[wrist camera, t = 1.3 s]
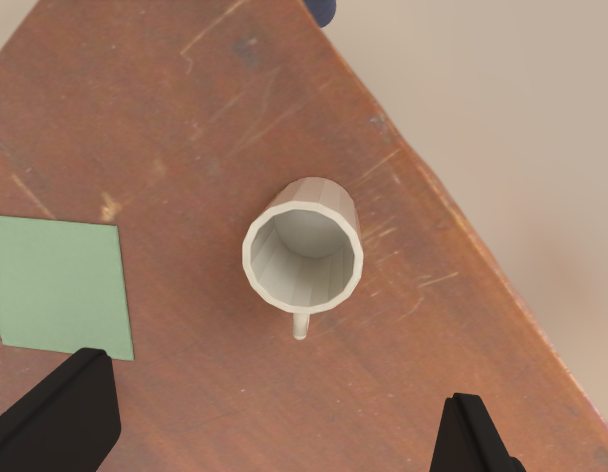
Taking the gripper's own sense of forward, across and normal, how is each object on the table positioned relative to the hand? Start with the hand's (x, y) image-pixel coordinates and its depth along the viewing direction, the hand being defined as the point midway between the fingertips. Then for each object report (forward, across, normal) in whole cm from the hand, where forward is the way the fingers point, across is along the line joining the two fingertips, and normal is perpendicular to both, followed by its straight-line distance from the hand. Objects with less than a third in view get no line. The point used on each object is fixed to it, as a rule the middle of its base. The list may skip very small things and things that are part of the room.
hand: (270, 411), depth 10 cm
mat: (+20, +24, +9) cm, 33 cm away
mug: (+20, +1, +1) cm, 20 cm away
